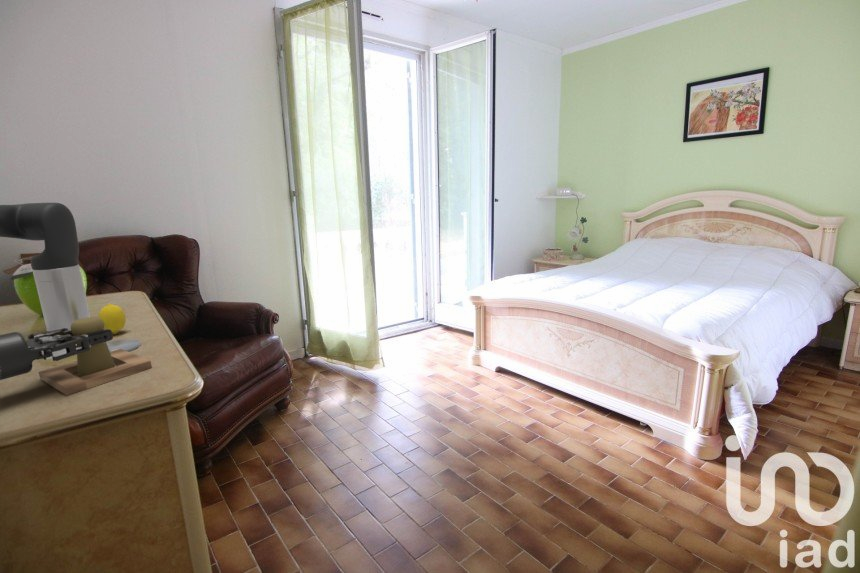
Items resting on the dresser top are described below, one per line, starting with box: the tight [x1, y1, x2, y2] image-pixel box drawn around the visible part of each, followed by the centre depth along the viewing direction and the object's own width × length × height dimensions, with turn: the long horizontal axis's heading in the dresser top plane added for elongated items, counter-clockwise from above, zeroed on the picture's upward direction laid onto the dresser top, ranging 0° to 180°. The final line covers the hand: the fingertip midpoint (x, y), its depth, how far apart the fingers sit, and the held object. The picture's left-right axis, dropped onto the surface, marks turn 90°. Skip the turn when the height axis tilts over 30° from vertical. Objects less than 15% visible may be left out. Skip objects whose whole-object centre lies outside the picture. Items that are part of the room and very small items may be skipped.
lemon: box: [98, 303, 127, 335], centre depth 110 cm, size 6×6×8 cm
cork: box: [70, 316, 116, 378], centre depth 85 cm, size 6×6×11 cm
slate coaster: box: [106, 338, 142, 352], centre depth 100 cm, size 10×10×1 cm
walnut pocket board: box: [38, 349, 153, 396], centre depth 86 cm, size 14×14×2 cm
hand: (105, 331), depth 87 cm, fingers closed on cork, 5 cm apart
